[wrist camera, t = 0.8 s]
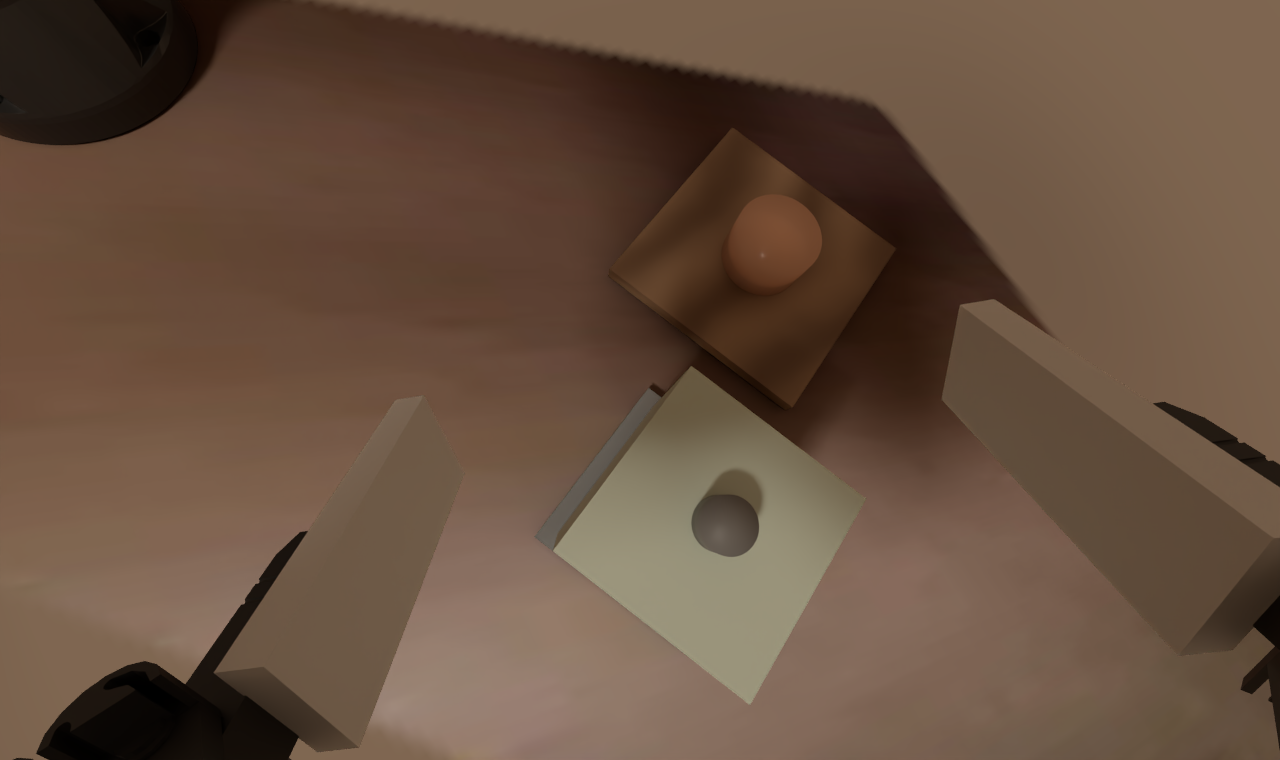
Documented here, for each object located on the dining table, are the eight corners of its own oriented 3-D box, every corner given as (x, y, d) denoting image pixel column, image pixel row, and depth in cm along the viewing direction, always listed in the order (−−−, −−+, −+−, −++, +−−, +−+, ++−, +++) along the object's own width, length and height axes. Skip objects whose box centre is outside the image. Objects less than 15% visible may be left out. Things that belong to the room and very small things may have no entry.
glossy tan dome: (705, 248, 36) (719, 222, 33) (763, 208, 38) (782, 179, 34) (757, 311, 35) (777, 291, 32) (814, 267, 37) (839, 244, 34)
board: (608, 276, 36) (609, 268, 35) (727, 138, 40) (732, 127, 39) (785, 410, 35) (792, 407, 34) (886, 255, 40) (896, 248, 38)
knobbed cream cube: (557, 533, 31) (551, 555, 18) (651, 408, 33) (700, 356, 21) (686, 633, 30) (765, 722, 18) (770, 498, 33) (888, 498, 21)
